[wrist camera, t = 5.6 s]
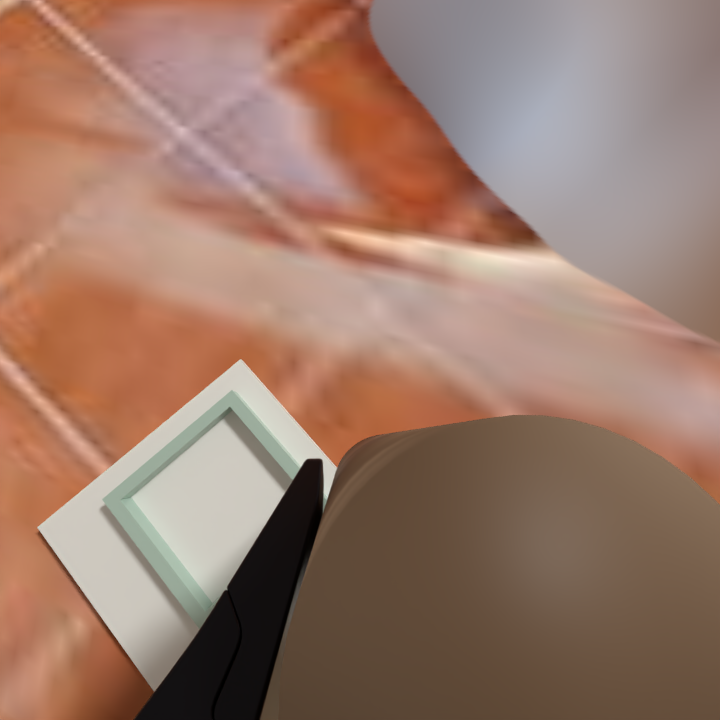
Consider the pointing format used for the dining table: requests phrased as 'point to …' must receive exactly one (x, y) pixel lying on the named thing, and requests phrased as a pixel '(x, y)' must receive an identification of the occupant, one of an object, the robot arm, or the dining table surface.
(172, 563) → the board
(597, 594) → the walnut column
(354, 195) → the dining table surface
